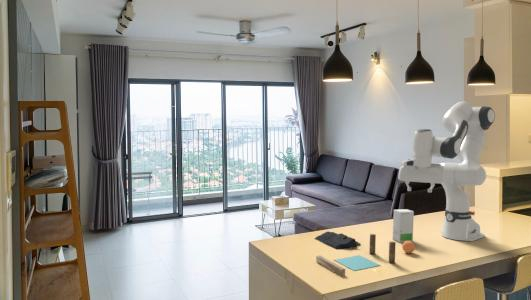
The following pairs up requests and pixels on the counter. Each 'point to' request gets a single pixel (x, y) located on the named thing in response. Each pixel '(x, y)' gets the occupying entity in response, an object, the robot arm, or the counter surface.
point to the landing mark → (356, 262)
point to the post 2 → (392, 252)
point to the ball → (408, 246)
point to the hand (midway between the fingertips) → (419, 191)
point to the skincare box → (403, 225)
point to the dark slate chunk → (337, 240)
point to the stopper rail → (330, 265)
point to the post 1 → (372, 244)
